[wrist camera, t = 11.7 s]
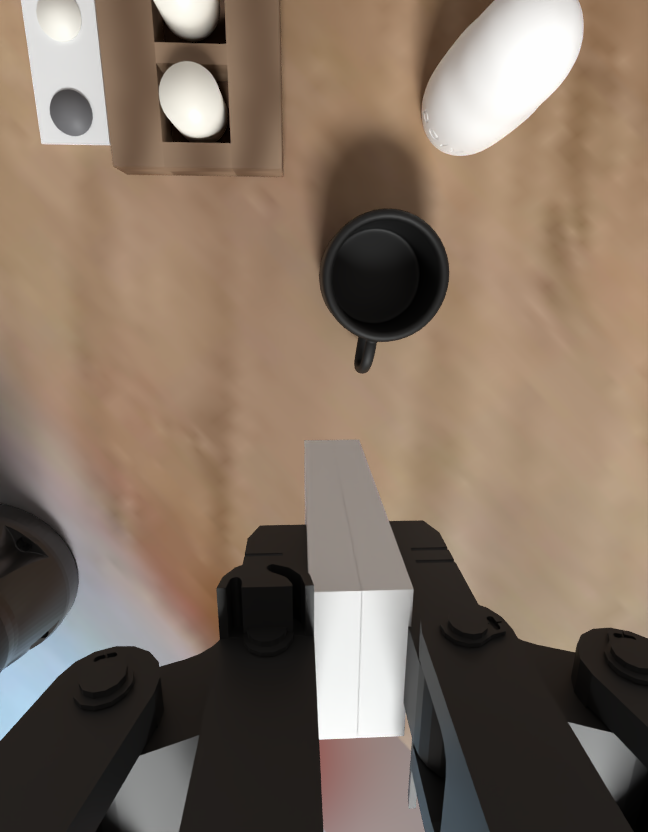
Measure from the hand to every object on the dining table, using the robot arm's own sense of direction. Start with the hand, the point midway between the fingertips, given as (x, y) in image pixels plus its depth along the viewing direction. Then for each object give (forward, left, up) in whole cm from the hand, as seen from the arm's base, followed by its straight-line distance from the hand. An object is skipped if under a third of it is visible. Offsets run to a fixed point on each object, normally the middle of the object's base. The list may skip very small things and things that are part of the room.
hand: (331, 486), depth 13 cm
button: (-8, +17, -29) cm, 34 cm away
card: (-18, +23, -29) cm, 41 cm away
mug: (+5, +4, -30) cm, 30 cm away
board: (-8, +23, -29) cm, 38 cm away
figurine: (+12, +18, -30) cm, 37 cm away
